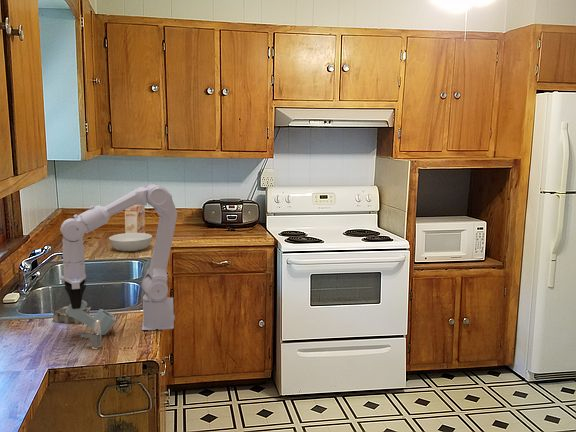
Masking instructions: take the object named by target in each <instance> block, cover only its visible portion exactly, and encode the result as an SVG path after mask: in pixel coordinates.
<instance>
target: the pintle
mask: <svg viewBox="0 0 576 432" xmlns="http://www.w3.org/2000/svg"><path fill="white" fill-rule="evenodd" d="M93 333H98V334H100V340H101V341H102V335H101V320H100V319H95V320H94V330H93Z"/></svg>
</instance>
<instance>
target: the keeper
mask: <svg viewBox="0 0 576 432" xmlns="http://www.w3.org/2000/svg"><path fill="white" fill-rule="evenodd" d="M80 337H81V338H87V339H90V342H91V344H90V347H95V348H98V347H99V346H100V347H101V341H100V334H98V333H94V332H87V331H86V332H85V331H83V332H81V333H80Z"/></svg>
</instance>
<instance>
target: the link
mask: <svg viewBox="0 0 576 432" xmlns="http://www.w3.org/2000/svg"><path fill="white" fill-rule="evenodd" d="M67 306H68V307H67V309H66V310H65V311H66V314H68V315H69V316H71V317H73V318H75V319H77V320H79V321H80V322H82V323H81V324H84V325H86V326H87V327H89V328H90V329H91V330H92V331H94V320H95V319H100V320H101V336H106V335H107V333H108V332H109V330H111V327H113V325H114V324H115V323H116V322H117V319H116V317H115V316H114V315H113V314H112V313H111V312H109V311H107V310H105V309H102V308H99V309H98V310H97V312H96V313H95V314H94V316H93V315H91V314H90V315H89V314H88V313H86V312H84V311H83V310H84V309H85V308H86V307H88V302H87V301H85V300H84V299H82V302H81V308H79V309H73V308H72V306H71V303H70V304H68V305H67ZM68 315H67V316H68Z"/></svg>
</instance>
